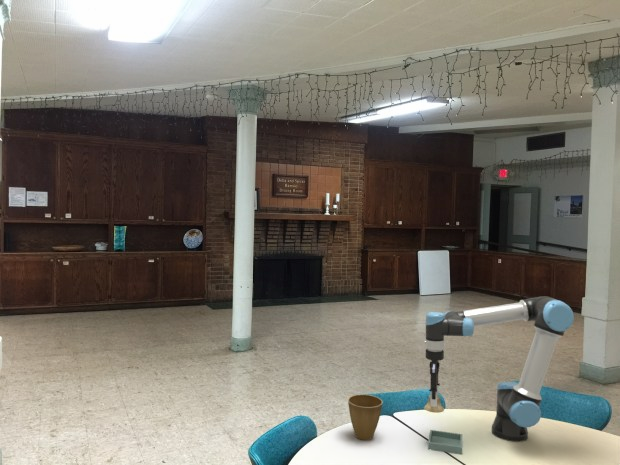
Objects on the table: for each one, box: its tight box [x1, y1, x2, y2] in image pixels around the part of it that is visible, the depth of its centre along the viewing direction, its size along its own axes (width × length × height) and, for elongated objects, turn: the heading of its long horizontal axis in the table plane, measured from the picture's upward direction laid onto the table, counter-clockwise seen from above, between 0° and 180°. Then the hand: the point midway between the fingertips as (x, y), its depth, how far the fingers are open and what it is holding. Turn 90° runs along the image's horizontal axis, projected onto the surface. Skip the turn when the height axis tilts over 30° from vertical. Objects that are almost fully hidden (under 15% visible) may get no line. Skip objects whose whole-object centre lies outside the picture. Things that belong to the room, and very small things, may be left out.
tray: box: [427, 429, 463, 455], centre depth 216 cm, size 14×14×3 cm
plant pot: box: [347, 393, 384, 441], centre depth 222 cm, size 15×15×16 cm
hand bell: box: [423, 375, 445, 414], centre depth 216 cm, size 8×8×16 cm
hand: (434, 403), depth 217 cm, fingers closed on hand bell, 6 cm apart
